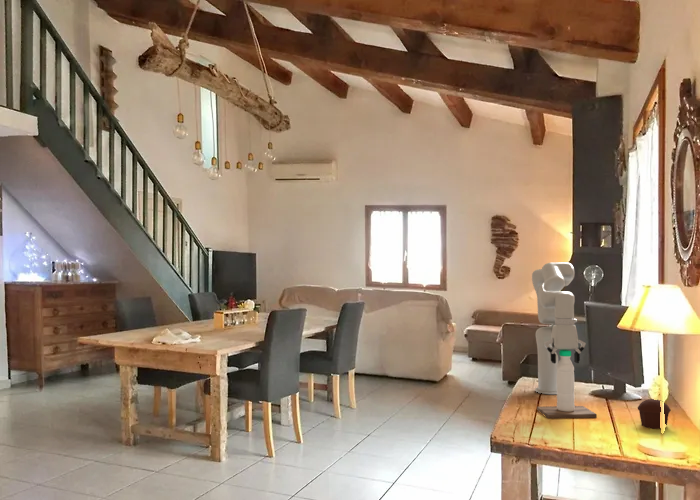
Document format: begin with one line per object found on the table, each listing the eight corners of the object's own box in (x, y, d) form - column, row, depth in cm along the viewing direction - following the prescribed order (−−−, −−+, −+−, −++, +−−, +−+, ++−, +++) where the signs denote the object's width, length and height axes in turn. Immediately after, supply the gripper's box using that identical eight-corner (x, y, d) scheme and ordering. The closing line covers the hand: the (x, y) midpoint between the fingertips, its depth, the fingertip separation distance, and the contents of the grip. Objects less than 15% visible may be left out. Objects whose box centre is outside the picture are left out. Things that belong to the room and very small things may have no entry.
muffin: (647, 430, 232) (647, 403, 232) (631, 422, 243) (631, 397, 243) (677, 429, 233) (677, 402, 233) (660, 421, 244) (660, 396, 244)
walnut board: (536, 410, 264) (536, 406, 264) (583, 409, 264) (582, 405, 264) (547, 418, 250) (547, 414, 250) (596, 417, 250) (596, 414, 250)
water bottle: (572, 408, 260) (571, 349, 261) (576, 412, 253) (576, 351, 254) (555, 407, 261) (554, 349, 262) (559, 411, 254) (558, 351, 255)
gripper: (581, 321, 262) (582, 361, 261) (541, 321, 261) (541, 361, 261) (588, 322, 254) (589, 364, 254) (547, 323, 254) (547, 364, 254)
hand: (565, 362), depth 257 cm, fingers open, 9 cm apart
